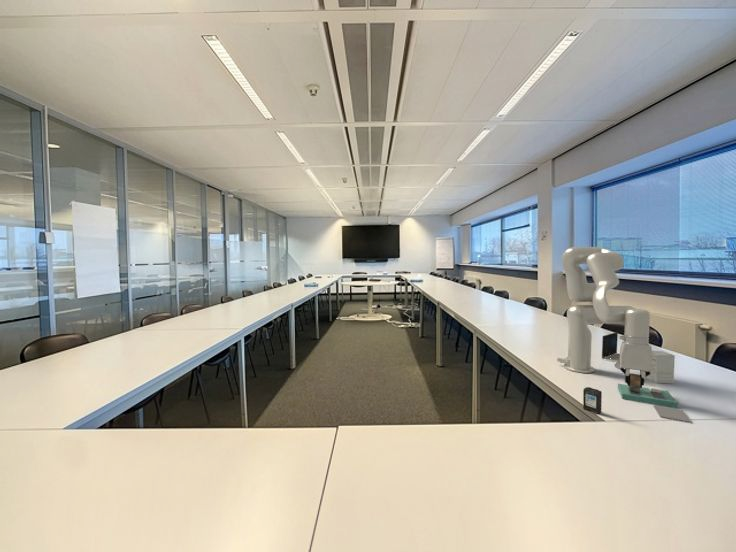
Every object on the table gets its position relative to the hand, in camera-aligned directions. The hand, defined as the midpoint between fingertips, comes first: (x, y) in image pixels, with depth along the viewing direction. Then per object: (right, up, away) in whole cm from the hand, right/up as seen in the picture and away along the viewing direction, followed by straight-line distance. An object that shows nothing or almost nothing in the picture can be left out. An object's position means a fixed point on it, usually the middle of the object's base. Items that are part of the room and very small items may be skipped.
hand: (634, 385), depth 131 cm
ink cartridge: (-26, -5, -13) cm, 29 cm away
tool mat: (+1, -5, -15) cm, 16 cm away
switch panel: (+3, -4, -2) cm, 5 cm away
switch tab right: (+8, -2, -1) cm, 8 cm away
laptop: (+31, -2, +47) cm, 56 cm away
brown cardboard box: (0, -2, 0) cm, 2 cm away
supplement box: (+24, -3, +16) cm, 29 cm away
